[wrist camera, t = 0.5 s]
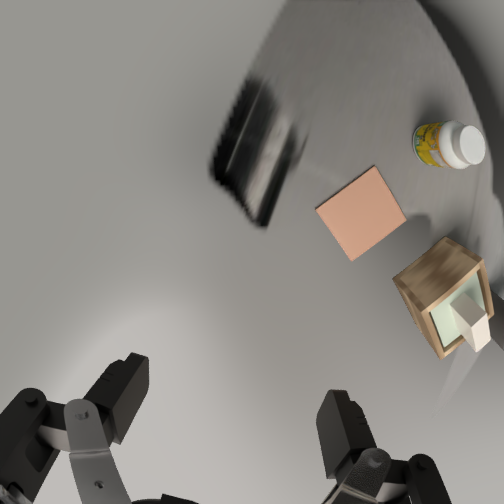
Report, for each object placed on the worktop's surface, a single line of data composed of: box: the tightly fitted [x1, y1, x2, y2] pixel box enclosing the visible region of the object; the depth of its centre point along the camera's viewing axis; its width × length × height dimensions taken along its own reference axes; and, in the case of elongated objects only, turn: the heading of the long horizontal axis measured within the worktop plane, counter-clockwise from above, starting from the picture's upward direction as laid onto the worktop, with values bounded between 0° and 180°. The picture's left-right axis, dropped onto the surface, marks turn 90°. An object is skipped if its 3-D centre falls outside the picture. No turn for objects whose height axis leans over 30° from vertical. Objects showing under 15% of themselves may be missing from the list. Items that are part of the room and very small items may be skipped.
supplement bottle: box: [413, 121, 485, 169], centre depth 23 cm, size 5×5×10 cm
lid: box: [429, 272, 491, 352], centre depth 23 cm, size 8×8×6 cm
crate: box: [393, 236, 494, 360], centre depth 29 cm, size 10×10×9 cm
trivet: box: [315, 166, 406, 261], centre depth 31 cm, size 9×8×1 cm
